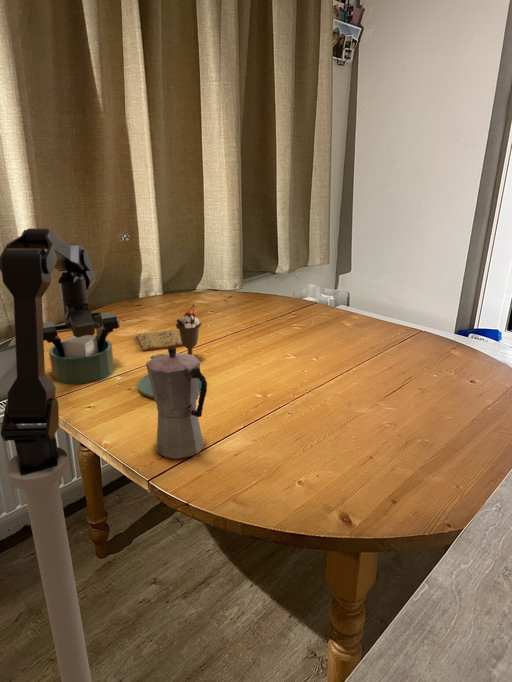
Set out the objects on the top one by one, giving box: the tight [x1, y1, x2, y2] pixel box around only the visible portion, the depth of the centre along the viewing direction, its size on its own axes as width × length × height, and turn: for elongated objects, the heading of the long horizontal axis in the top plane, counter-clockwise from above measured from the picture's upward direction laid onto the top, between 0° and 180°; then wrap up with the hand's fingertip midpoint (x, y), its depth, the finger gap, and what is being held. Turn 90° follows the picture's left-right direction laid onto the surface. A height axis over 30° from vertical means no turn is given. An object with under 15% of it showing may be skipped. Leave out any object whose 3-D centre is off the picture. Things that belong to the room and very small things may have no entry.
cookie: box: [136, 329, 183, 351], centre depth 145 cm, size 12×12×1 cm
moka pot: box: [145, 346, 208, 459], centre depth 91 cm, size 10×15×20 cm, turn 51°
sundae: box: [175, 304, 202, 362], centre depth 130 cm, size 7×7×15 cm
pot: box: [48, 338, 115, 385], centre depth 124 cm, size 15×15×6 cm
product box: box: [63, 334, 99, 358], centre depth 124 cm, size 6×6×7 cm
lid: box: [137, 373, 202, 399], centre depth 117 cm, size 16×16×6 cm
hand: (82, 358), depth 124 cm, fingers closed on product box, 8 cm apart
